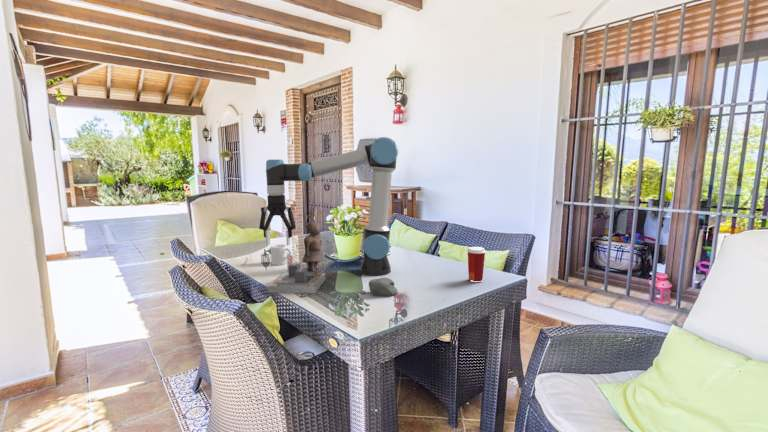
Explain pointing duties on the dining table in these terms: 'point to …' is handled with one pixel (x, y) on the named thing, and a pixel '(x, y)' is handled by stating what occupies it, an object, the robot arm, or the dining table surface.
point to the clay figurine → (313, 246)
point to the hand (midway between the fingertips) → (278, 244)
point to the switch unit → (297, 283)
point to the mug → (279, 254)
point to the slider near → (301, 275)
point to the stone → (382, 287)
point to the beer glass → (476, 263)
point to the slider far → (293, 268)
